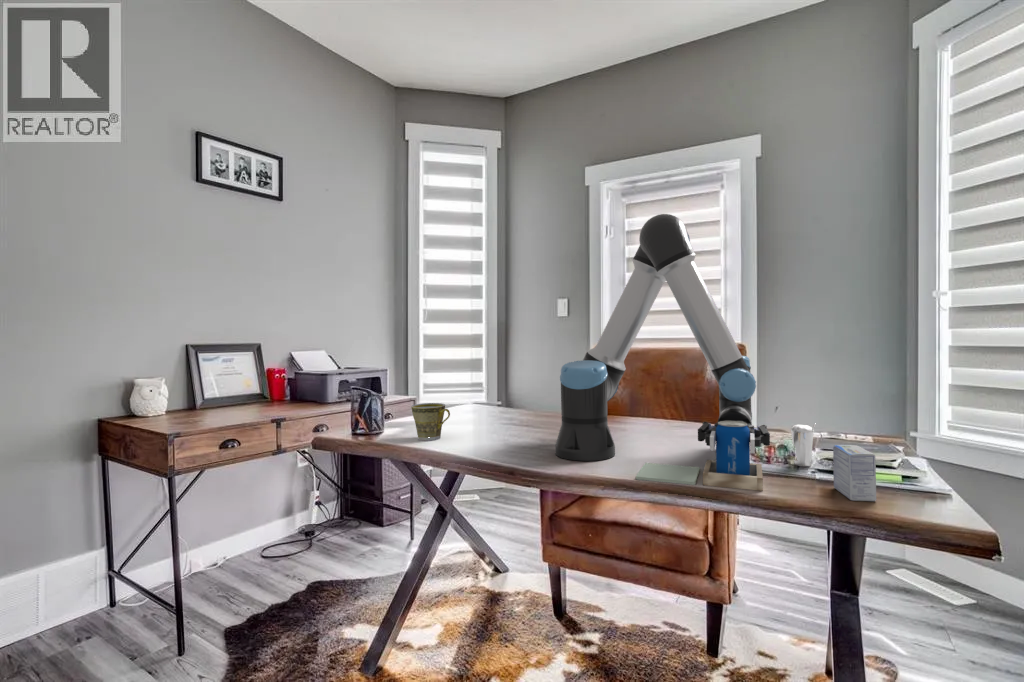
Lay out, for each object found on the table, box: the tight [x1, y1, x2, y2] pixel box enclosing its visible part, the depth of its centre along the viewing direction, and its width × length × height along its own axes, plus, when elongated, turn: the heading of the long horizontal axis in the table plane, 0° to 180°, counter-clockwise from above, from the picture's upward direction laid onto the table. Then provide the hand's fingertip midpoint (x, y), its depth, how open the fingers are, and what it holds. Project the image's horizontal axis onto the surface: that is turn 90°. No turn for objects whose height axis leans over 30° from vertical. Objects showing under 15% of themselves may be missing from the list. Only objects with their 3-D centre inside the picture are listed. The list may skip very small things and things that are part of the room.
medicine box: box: [832, 444, 877, 503], centre depth 101 cm, size 8×4×9 cm, turn 168°
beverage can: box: [715, 421, 751, 476], centre depth 111 cm, size 6×6×12 cm
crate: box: [702, 459, 764, 492], centre depth 111 cm, size 11×11×2 cm
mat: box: [635, 462, 701, 486], centre depth 117 cm, size 12×12×1 cm
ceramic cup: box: [411, 402, 451, 442], centre depth 159 cm, size 13×10×10 cm
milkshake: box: [790, 422, 817, 467], centre depth 122 cm, size 4×5×10 cm
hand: (731, 445), depth 107 cm, fingers open, 7 cm apart
